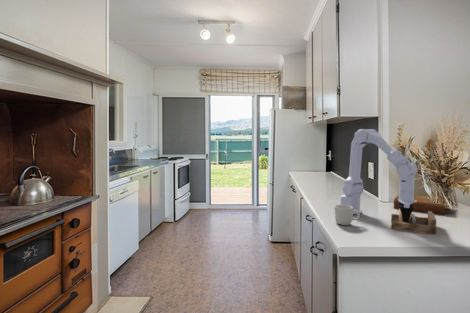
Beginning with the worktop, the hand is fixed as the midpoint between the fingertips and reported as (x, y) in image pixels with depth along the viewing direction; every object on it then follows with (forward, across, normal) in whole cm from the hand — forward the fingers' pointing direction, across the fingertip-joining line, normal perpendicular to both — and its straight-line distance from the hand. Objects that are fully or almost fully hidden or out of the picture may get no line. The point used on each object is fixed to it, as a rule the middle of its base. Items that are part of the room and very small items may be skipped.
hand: (405, 220), depth 133 cm
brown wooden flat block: (+3, +40, -8) cm, 41 cm away
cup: (+3, -9, +24) cm, 25 cm away
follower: (+2, 0, -3) cm, 4 cm away
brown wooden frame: (+2, 0, -2) cm, 4 cm away
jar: (+2, 0, 0) cm, 2 cm away
